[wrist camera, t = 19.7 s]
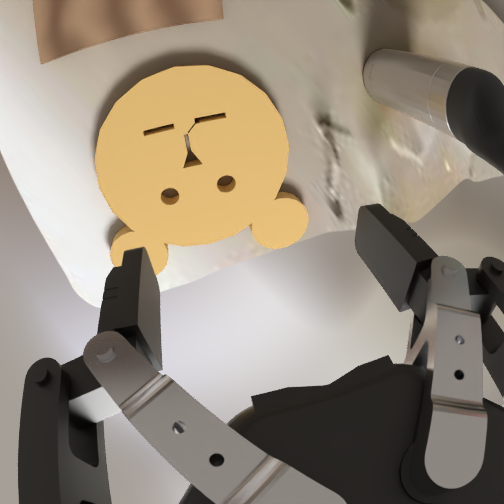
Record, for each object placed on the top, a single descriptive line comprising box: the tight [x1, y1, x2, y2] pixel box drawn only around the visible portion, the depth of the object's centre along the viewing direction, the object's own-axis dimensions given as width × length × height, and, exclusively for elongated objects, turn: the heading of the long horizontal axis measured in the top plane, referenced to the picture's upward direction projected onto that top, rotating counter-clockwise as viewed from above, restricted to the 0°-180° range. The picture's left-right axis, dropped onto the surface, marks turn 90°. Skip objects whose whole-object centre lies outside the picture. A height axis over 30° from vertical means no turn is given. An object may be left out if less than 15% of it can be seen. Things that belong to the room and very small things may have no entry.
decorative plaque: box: [95, 65, 309, 275], centre depth 42 cm, size 31×3×30 cm
